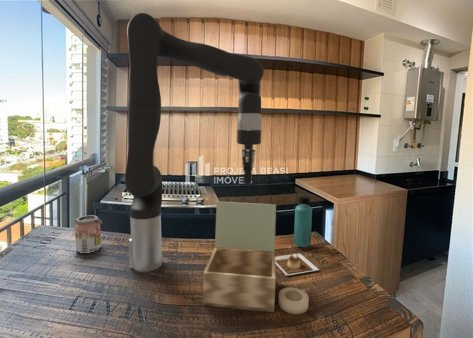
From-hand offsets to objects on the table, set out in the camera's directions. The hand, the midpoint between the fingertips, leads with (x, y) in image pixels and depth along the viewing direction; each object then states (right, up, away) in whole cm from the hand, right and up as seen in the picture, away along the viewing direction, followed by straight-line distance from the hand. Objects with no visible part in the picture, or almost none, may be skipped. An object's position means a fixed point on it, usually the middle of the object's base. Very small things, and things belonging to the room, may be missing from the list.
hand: (247, 183), depth 87 cm
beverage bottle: (+21, -26, +18) cm, 38 cm away
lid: (-1, -13, -6) cm, 14 cm away
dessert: (+16, -28, +4) cm, 33 cm away
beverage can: (-58, -25, +13) cm, 64 cm away
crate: (-2, -30, -11) cm, 32 cm away
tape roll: (+11, -31, -16) cm, 36 cm away
